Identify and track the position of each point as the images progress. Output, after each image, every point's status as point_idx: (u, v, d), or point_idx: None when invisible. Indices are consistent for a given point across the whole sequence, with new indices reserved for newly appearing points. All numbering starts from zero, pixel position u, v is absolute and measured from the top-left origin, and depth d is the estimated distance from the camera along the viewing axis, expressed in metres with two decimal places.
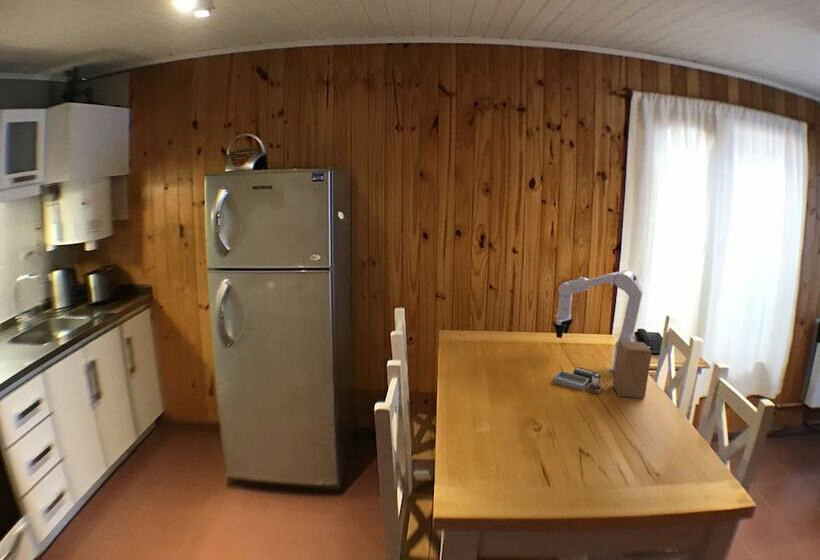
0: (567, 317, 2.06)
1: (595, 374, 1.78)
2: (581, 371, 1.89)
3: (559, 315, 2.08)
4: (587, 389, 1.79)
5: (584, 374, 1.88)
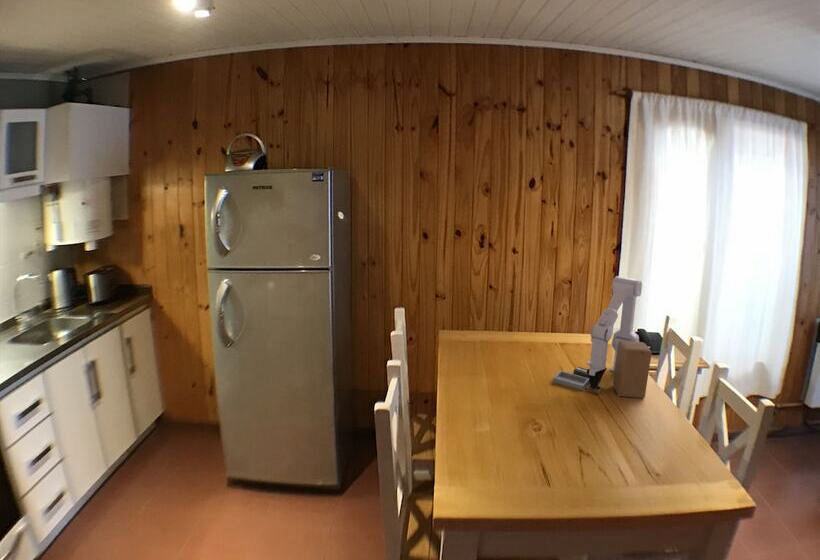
0: (602, 366, 1.74)
1: None
2: (581, 371, 1.89)
3: (592, 363, 1.76)
4: (587, 389, 1.79)
5: (583, 374, 1.88)
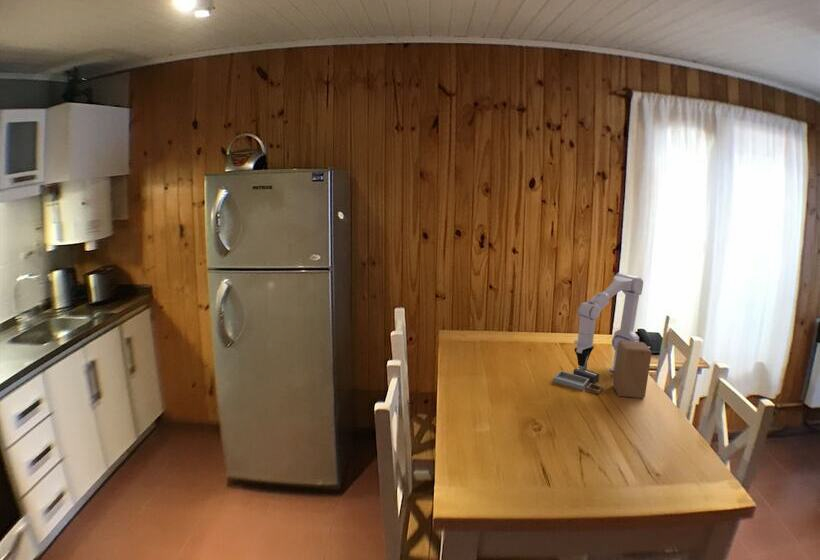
0: (589, 344, 1.76)
1: None
2: (581, 371, 1.89)
3: (580, 341, 1.78)
4: (587, 389, 1.79)
5: (583, 374, 1.88)
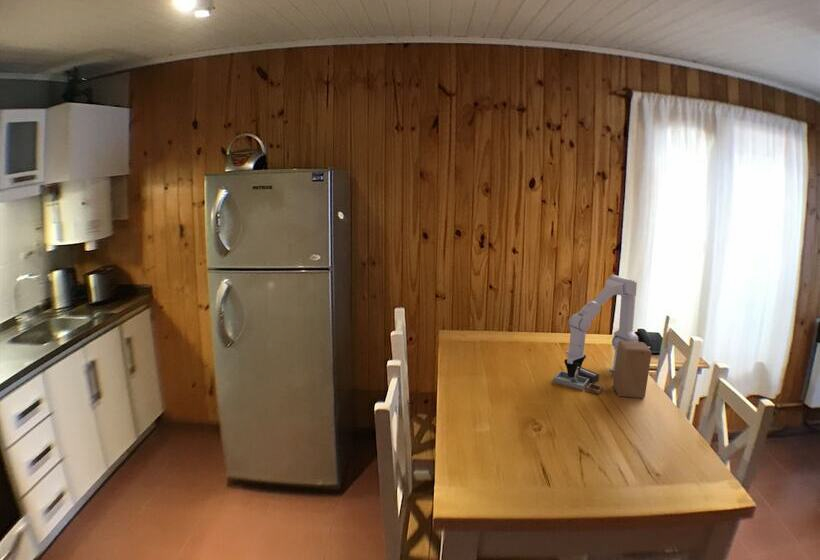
0: (580, 354, 1.80)
1: None
2: (581, 370, 1.90)
3: (571, 352, 1.81)
4: (587, 389, 1.79)
5: (583, 374, 1.88)
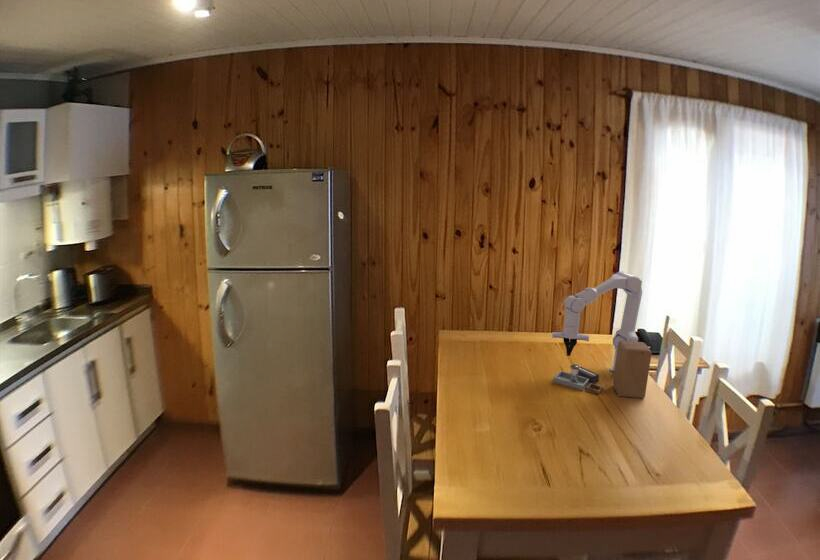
0: (566, 334, 1.86)
1: (574, 366, 1.84)
2: (581, 370, 1.90)
3: None
4: (587, 389, 1.79)
5: (582, 373, 1.88)
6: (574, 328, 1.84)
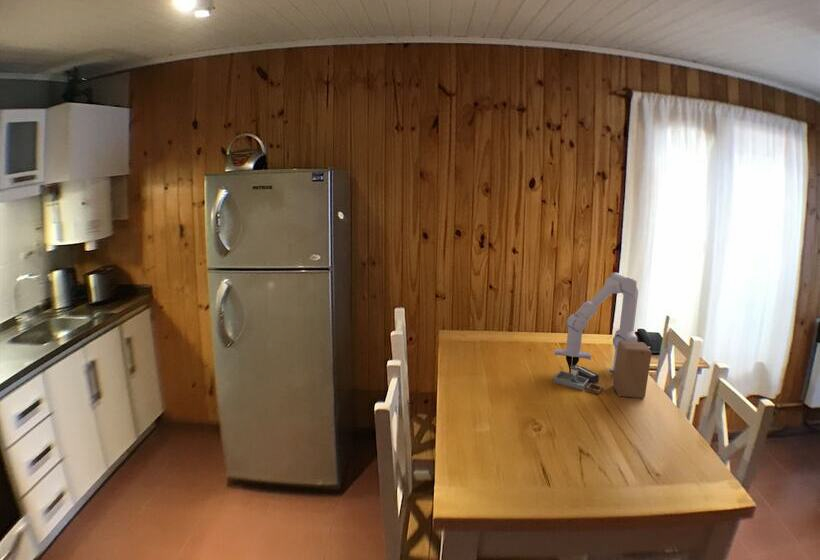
0: (568, 352, 1.89)
1: (573, 366, 1.84)
2: (581, 370, 1.90)
3: None
4: (587, 389, 1.79)
5: (582, 373, 1.88)
6: (576, 346, 1.87)
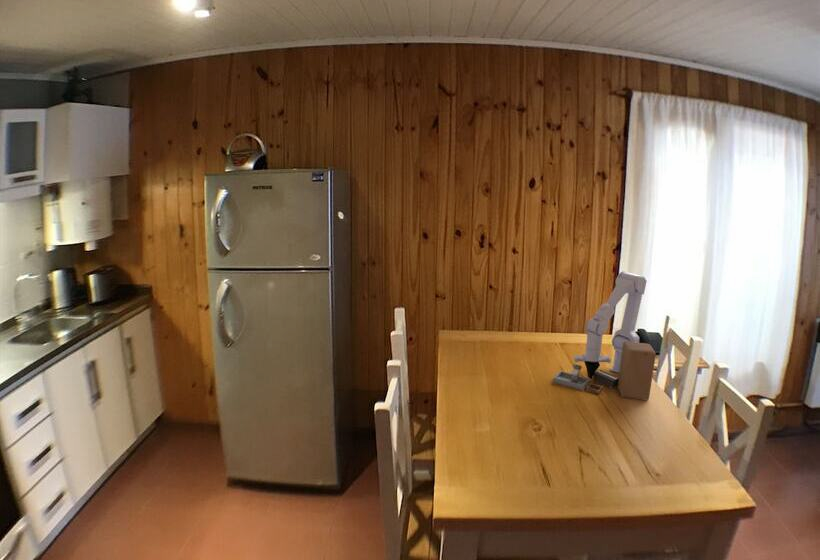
0: (590, 358, 1.84)
1: (576, 366, 1.84)
2: (601, 374, 1.86)
3: (585, 353, 1.87)
4: (587, 389, 1.79)
5: (603, 377, 1.84)
6: (598, 351, 1.83)
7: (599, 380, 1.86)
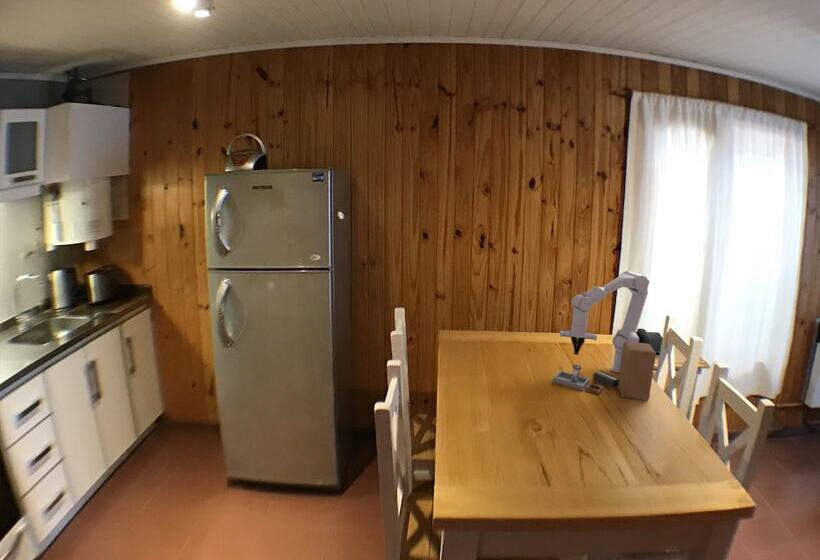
0: (574, 333, 1.86)
1: (575, 366, 1.84)
2: (601, 374, 1.86)
3: None
4: (587, 389, 1.79)
5: (603, 378, 1.84)
6: (582, 327, 1.85)
7: (599, 381, 1.86)
